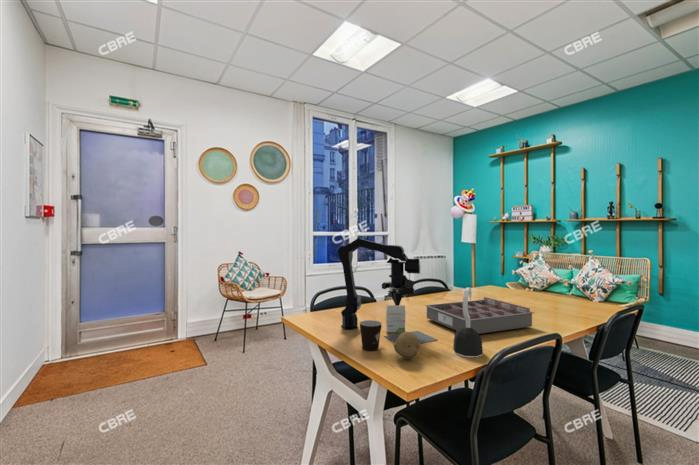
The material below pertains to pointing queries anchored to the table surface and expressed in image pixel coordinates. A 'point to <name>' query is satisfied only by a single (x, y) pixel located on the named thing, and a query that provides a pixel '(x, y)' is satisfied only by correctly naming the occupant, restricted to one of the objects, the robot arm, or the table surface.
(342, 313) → the robot arm
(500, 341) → the table surface
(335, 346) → the table surface
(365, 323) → the coffee mug
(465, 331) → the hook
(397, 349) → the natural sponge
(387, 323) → the ink box
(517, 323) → the organizer tray
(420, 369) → the table surface
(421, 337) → the mat
